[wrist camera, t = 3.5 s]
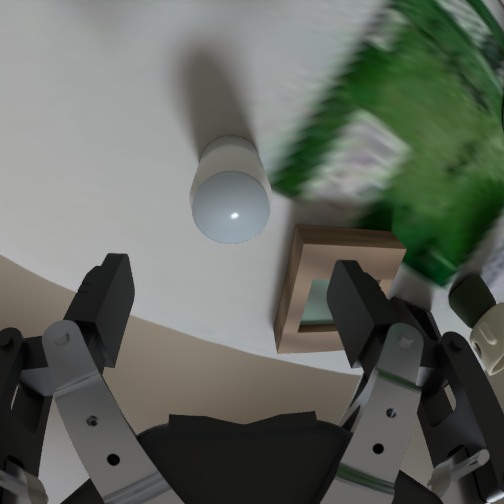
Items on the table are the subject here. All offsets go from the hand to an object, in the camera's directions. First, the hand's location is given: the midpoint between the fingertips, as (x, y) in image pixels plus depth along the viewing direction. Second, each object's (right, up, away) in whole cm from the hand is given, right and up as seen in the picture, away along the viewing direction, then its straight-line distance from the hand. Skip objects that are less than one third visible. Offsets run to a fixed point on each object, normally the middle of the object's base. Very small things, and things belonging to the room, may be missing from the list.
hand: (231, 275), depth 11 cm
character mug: (+31, -4, +22) cm, 38 cm away
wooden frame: (+9, -3, +19) cm, 21 cm away
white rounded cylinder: (-1, +8, +11) cm, 13 cm away
